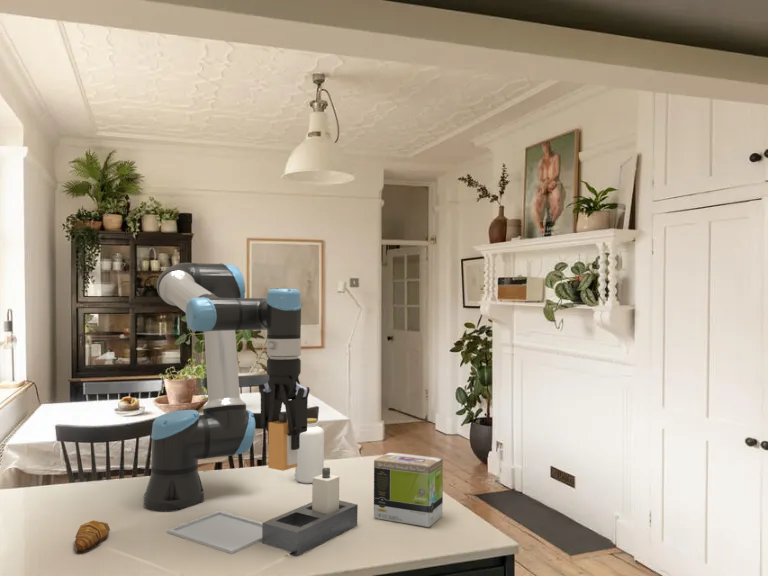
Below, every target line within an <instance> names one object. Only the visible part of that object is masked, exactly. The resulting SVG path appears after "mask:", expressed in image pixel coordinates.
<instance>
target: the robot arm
mask: <svg viewBox="0 0 768 576" xmlns="http://www.w3.org/2000/svg"><path fill="white" fill-rule="evenodd" d="M156 291H157V294H158V296H159V297H160V298H161V300H163V302H165V304H168V305H171V306H174V307H178V308H179V310H182V311H183V312H184V313H185V321H186V324H187V327H188V329H189V330H191V331H192V332H193V331H196V332H203V334H204V335H203V336H204V352H205V367H206V369H205V370H206V386H207V402H206V404H204V406H203V408H202V414H200V413H199V411H198V410H196V409H185V410H184V409H181V410H174V411H170V412H167V413H164V414H161V415H159V416H157V417H156V418H155V419H154V420H153V422H152V428H151V435H150V438H151V467H150V468H151V469H150V470H151V472H150V477H149V480H148V484H147V487H146V489H145V493H144V495H143V507H144V508H146V509H147V510H151V511H154V512H155V511H156V512H177V511H182V510H185V509H188V508H191V507H194V506H197V505H200V504H203V503H204V502H205V489H204V487H203V484H202V480H201V478H200V477H201V476H200V473H199V471H198V469H199V467H198V466H199V464H198V463H199V460H204V459H214V458H219V457H220V458H221V457H228V456H230V457H232V456H235V455H241V454H245V453H246V452H248V451H249V450H250V449H251V447H252V445H253V442H254V439H255V435H256V419H255V416H254V413H253V412H252V411H251V410H249V409H247V404H246V403H245V401H243V400H242V399H241V396H240V394H241V393H240V381H239V364H238V352H237V351H238V350H237V339H236V338H237V337H236V331H266V340H267V341H266V356H267V357H269V358H268V359H267V360H266V375H268V376H269V378H268V380H267V382H266V383H262V384H258V390H259V394H260V428H262V429H265V431H266V432H267V444H268V447H269V422H274V421H279V413H281V412H282V406H283V405H284V407H285V412H286V414H287V420H288V426H289V433H288V434H287V465H293V464H296V463H298V449H299V447H300V434H301V433H303V432H306V431H307V418H308V397H309V394H310V390H311V389H310V387H308V386H303V385H301V382H300V380H299V379H300V378H299V376H300V375H301V374H302V373H301V372H302V370H301V369H302V368H301V367H302V364H301V363H302V360H301V358H299V357H300V356H301V355H302V352H301V351H302V346H301V345H302V339H301V337H302V336H301V335H302V334H301V333H302V332H301V331H302V330H301V329H302V326H301V325H302V302H301V301H302V300H301V299H302V298H301V291H299V289H298V288H297V289H295V288H271V289H269V290H268V291H267V296H266V297H246V283H245V278H244V275H243V273H242V271H241V270H240V269H239V267H237V266H236V265H234V264H225V263H222V262H221V263H201V262H198V263H197V262H180V263H176V264H173V265H171V266H169V267H167V268H166V269H164V270H163V271H162V273H160V275H159V276H158V278H157V282H156ZM294 428H295V429H294Z"/></svg>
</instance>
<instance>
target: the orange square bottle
mask: <svg viewBox="0 0 768 576" xmlns="http://www.w3.org/2000/svg"><path fill="white" fill-rule="evenodd" d="M294 429H295V428H294ZM288 433H289V426H288V420H287V414H286V411H285V412H282V411H281V413H279V421H274V422H269V446H268V458H267V459H268V465H267V466H268V469H272V470H277V471H278V470H279V471H282V472H283V471H286V470H287V471H288V470H290V469H294V468H295V467H297V463H296V464H293V465H287V434H288Z"/></svg>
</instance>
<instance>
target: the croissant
mask: <svg viewBox="0 0 768 576" xmlns="http://www.w3.org/2000/svg"><path fill="white" fill-rule="evenodd" d="M109 532H110V526H109V524H108V523H107V522H103V521H98V520H91V521H88V522H86V523H83V524H81V525H80V526H79V528H78V530H77V532H76V534H75V540H74V545H75V549H76V553H79V554H82V553H86V552H89V551H90V550H92V549H94V548H96V546H98V545H100V544H101V543H102V542H103V541H104V540H105V539H106V537H107V536H108V534H109Z"/></svg>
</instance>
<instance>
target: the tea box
mask: <svg viewBox="0 0 768 576" xmlns="http://www.w3.org/2000/svg"><path fill="white" fill-rule="evenodd" d="M443 460H444V459H443V458H442V457H436V456H428V455H427V456H426V455H420V454H419V455H417V454H410V453H403V452H402V453H400V452H392V451H391V452H387V453H385V454H384V455H382V456H380V457H378V458H376V459H374V460H373V518H374V519H379V520H384V521H391V522H396V523H402V524H409V525H413V526H415V525H416V526H421V527H426V528H430V527H431V526H432V525H434V524H435V523H436V522H437V521H438V520H440V518H441V517H442V516H443V506H444V505H443V499H444V498H443V493H444V491H443V488H444V487H443V486H444V485H443V479H444V478H443V477H444V475H443V474H444V473H443V472H444V471H443V467H444V465H443Z"/></svg>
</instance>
